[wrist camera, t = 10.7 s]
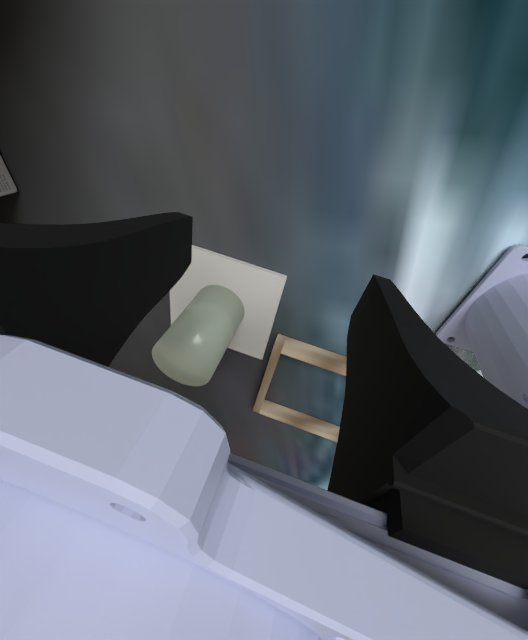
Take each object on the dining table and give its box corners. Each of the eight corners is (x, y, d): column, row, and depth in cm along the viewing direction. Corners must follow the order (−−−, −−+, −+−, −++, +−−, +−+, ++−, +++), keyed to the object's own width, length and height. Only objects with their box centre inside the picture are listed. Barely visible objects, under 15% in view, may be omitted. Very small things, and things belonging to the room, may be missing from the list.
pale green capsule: (238, 344, 28) (208, 405, 22) (195, 329, 28) (155, 385, 23) (248, 294, 24) (213, 354, 18) (197, 278, 24) (149, 332, 19)
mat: (287, 275, 22) (286, 278, 22) (263, 357, 29) (262, 360, 28) (170, 237, 23) (167, 239, 22) (173, 325, 29) (171, 327, 29)
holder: (401, 375, 25) (402, 389, 24) (350, 434, 33) (349, 446, 32) (278, 333, 26) (274, 344, 25) (256, 400, 34) (252, 410, 33)
